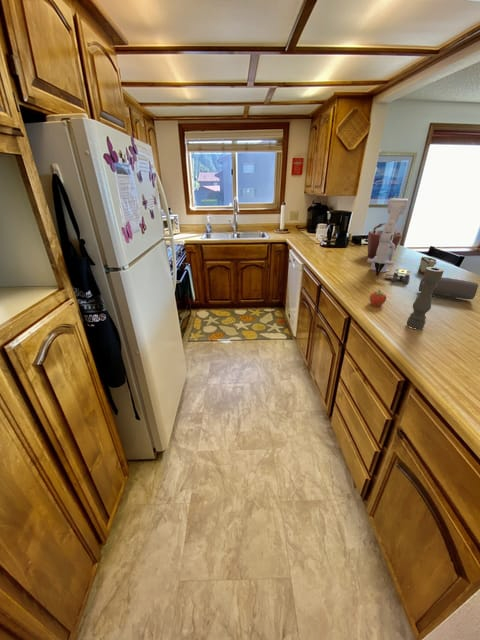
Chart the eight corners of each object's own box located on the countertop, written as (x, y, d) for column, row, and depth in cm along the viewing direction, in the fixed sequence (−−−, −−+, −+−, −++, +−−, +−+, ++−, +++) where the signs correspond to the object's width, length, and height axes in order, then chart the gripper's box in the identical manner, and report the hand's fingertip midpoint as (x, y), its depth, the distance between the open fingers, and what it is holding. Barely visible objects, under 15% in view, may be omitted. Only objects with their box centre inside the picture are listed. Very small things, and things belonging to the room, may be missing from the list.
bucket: (361, 253, 216) (367, 221, 204) (389, 254, 213) (398, 221, 201) (369, 261, 195) (377, 226, 183) (401, 262, 192) (411, 226, 180)
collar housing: (391, 281, 158) (394, 272, 155) (393, 277, 164) (395, 268, 161) (406, 284, 154) (410, 274, 151) (407, 279, 160) (410, 270, 157)
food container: (435, 278, 162) (441, 262, 157) (424, 277, 163) (429, 261, 158) (427, 272, 173) (432, 257, 168) (416, 271, 174) (421, 256, 169)
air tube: (384, 279, 162) (385, 274, 160) (384, 277, 164) (386, 272, 163) (408, 282, 156) (410, 277, 154) (408, 281, 158) (410, 276, 156)
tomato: (383, 309, 125) (387, 294, 122) (366, 306, 129) (370, 290, 125) (385, 303, 131) (389, 288, 127) (369, 300, 134) (372, 286, 131)
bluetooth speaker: (468, 297, 136) (476, 279, 131) (471, 304, 129) (480, 285, 124) (417, 289, 146) (423, 272, 142) (417, 295, 139) (423, 277, 135)
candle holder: (402, 323, 114) (421, 266, 102) (416, 322, 114) (436, 266, 102) (412, 330, 108) (433, 272, 96) (426, 329, 109) (448, 271, 97)
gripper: (368, 253, 158) (363, 274, 165) (395, 256, 151) (389, 278, 158) (370, 250, 164) (365, 271, 170) (396, 253, 157) (390, 275, 163)
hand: (377, 275), depth 164 cm, fingers closed
